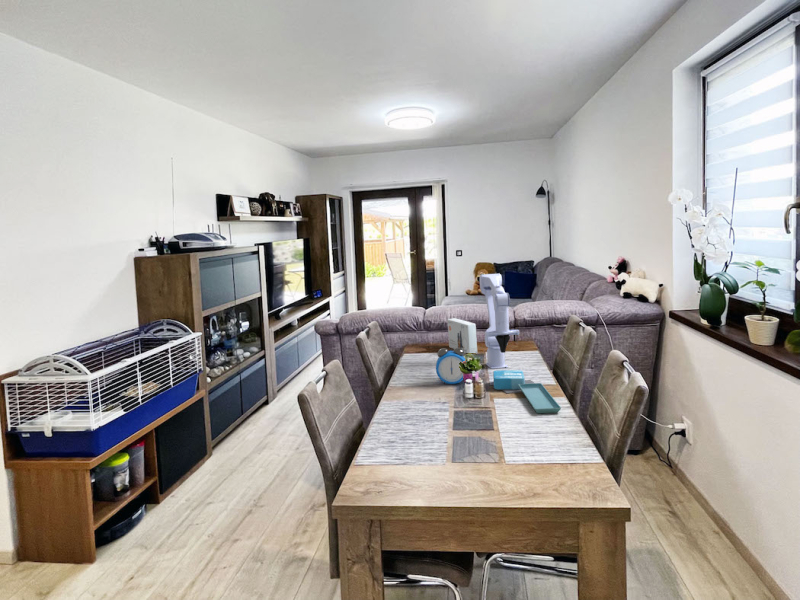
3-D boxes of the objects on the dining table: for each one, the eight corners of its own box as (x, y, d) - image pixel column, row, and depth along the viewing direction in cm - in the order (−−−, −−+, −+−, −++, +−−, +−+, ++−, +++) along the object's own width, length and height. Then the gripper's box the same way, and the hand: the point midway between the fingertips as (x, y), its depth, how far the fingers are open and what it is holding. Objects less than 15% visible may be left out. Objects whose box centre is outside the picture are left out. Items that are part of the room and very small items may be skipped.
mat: (495, 384, 215) (495, 383, 215) (530, 380, 217) (530, 379, 217) (506, 393, 202) (506, 392, 202) (543, 390, 204) (543, 389, 204)
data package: (522, 370, 216) (524, 378, 204) (522, 380, 216) (525, 389, 204) (493, 370, 217) (493, 378, 206) (493, 380, 218) (494, 389, 206)
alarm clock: (436, 385, 218) (435, 350, 216) (436, 380, 224) (435, 346, 222) (468, 384, 216) (466, 349, 214) (467, 380, 222) (466, 345, 220)
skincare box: (448, 347, 284) (446, 318, 282) (456, 346, 287) (455, 317, 284) (468, 355, 265) (467, 324, 263) (477, 353, 268) (476, 323, 265)
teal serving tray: (561, 413, 178) (561, 406, 178) (535, 414, 178) (535, 407, 178) (541, 388, 204) (541, 382, 204) (518, 390, 204) (518, 384, 204)
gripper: (488, 324, 219) (489, 355, 220) (521, 321, 221) (522, 352, 222) (483, 321, 226) (484, 352, 227) (515, 318, 228) (516, 349, 229)
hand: (503, 352), depth 225 cm, fingers closed
